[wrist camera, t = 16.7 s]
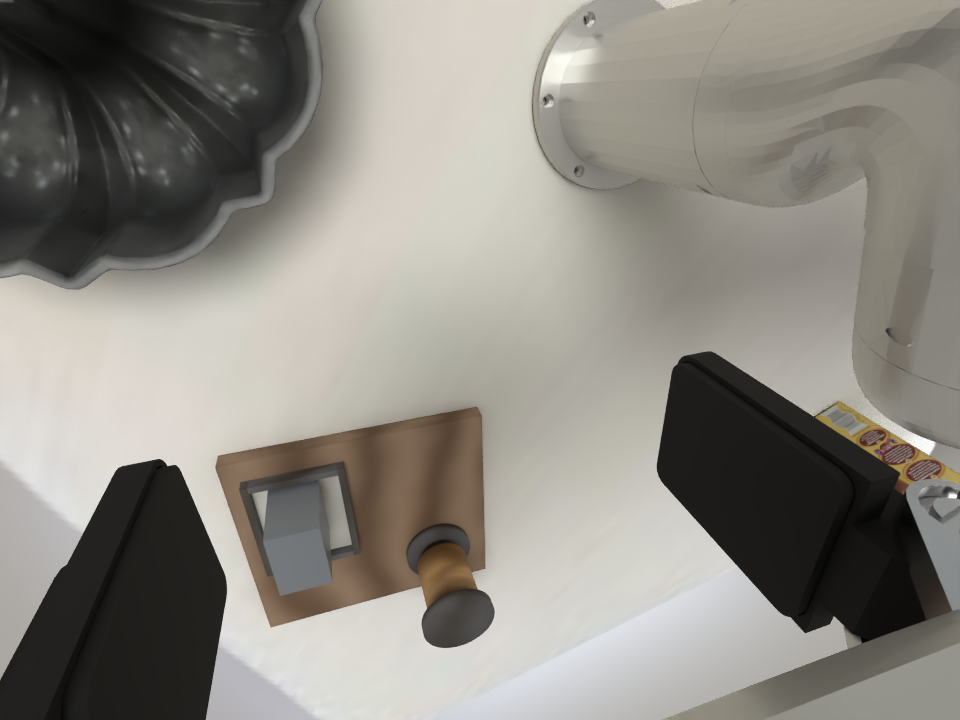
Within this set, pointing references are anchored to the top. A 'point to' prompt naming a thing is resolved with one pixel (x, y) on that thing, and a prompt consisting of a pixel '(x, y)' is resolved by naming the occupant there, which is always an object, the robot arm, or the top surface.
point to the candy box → (886, 447)
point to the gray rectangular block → (298, 537)
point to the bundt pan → (143, 126)
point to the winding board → (379, 518)
